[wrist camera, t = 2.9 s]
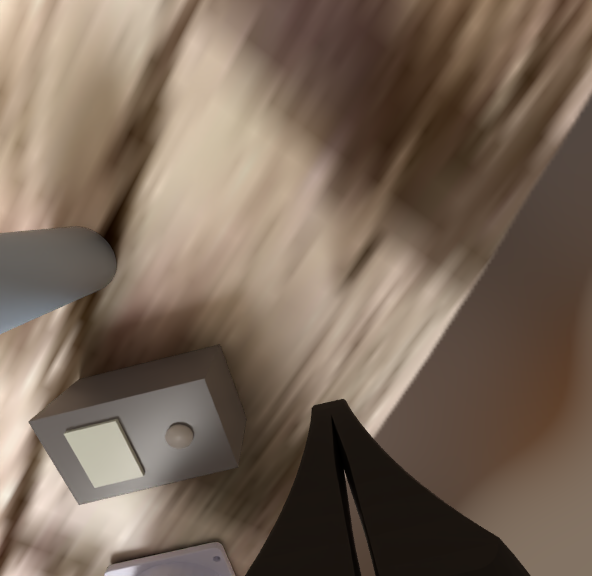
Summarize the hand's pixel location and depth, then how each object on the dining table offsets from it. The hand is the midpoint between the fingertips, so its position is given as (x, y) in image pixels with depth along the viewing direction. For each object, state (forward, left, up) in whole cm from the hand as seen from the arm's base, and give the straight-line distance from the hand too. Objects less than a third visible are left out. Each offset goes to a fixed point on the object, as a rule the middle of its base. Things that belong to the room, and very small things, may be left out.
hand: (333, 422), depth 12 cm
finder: (0, +9, -5) cm, 10 cm away
